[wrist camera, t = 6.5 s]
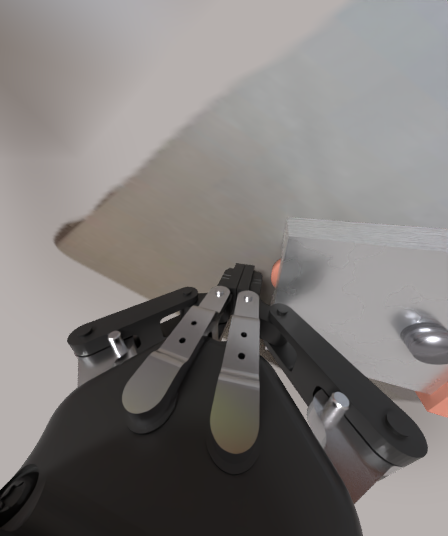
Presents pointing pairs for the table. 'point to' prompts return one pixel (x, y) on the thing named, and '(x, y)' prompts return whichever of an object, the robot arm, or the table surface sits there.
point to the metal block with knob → (372, 295)
